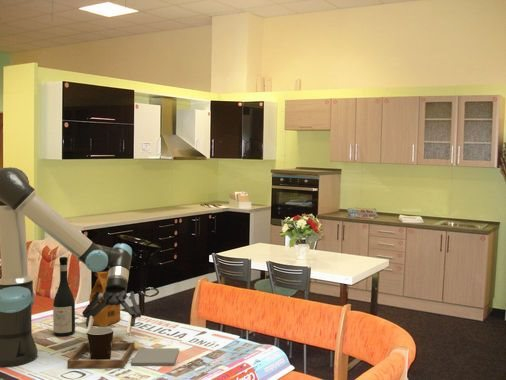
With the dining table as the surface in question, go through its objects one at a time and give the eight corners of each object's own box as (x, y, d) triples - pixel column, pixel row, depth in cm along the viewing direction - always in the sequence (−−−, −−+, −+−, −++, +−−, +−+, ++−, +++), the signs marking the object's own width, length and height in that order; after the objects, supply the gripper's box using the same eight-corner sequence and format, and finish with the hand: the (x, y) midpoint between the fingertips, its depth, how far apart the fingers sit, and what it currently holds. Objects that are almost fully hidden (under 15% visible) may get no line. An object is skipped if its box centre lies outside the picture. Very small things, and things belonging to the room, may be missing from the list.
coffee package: (85, 325, 222) (84, 272, 221) (105, 317, 234) (104, 267, 233) (104, 328, 218) (104, 274, 217) (123, 320, 229) (123, 268, 229)
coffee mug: (106, 365, 177) (106, 335, 176) (82, 363, 178) (82, 333, 178) (121, 353, 188) (121, 325, 188) (99, 351, 190) (98, 323, 189)
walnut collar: (67, 368, 174) (67, 360, 174) (83, 349, 192) (83, 342, 192) (123, 368, 174) (123, 360, 174) (134, 349, 192) (134, 342, 192)
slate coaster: (131, 365, 176) (130, 362, 176) (139, 351, 190) (139, 348, 190) (173, 365, 177) (173, 362, 177) (178, 351, 191) (178, 348, 191)
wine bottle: (70, 336, 206) (69, 259, 205) (50, 336, 207) (49, 258, 205) (78, 330, 214) (77, 255, 213) (58, 330, 215) (57, 255, 213)
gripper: (152, 286, 203) (146, 339, 189) (85, 287, 202) (74, 340, 188) (150, 275, 197) (143, 329, 183) (81, 276, 196) (69, 329, 182)
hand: (108, 334), depth 185 cm, fingers open, 13 cm apart
